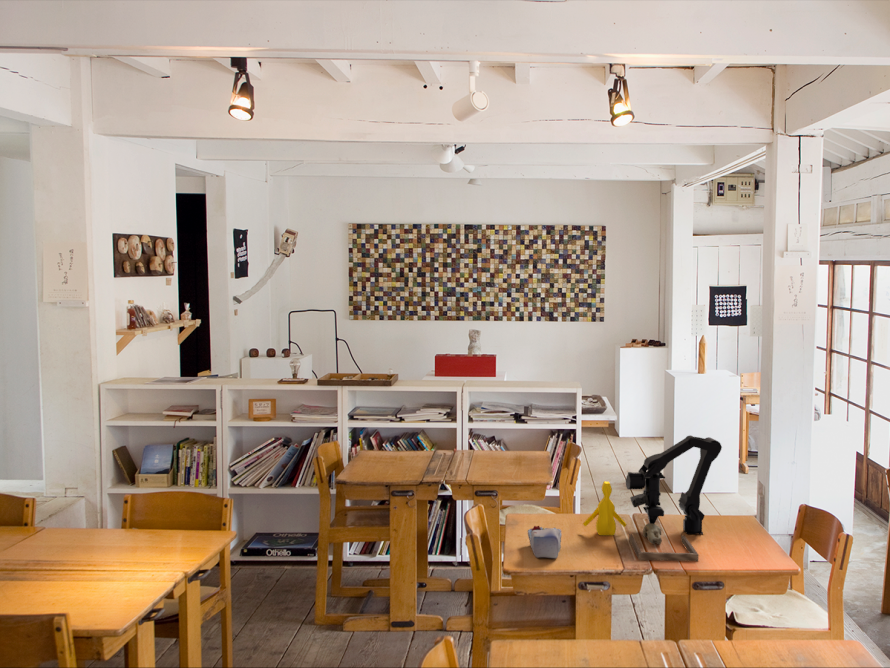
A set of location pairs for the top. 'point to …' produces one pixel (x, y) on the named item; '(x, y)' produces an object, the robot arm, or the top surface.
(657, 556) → the holder
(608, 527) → the figure statuette
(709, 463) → the robot arm
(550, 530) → the grey tapered container
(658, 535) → the sculpture
